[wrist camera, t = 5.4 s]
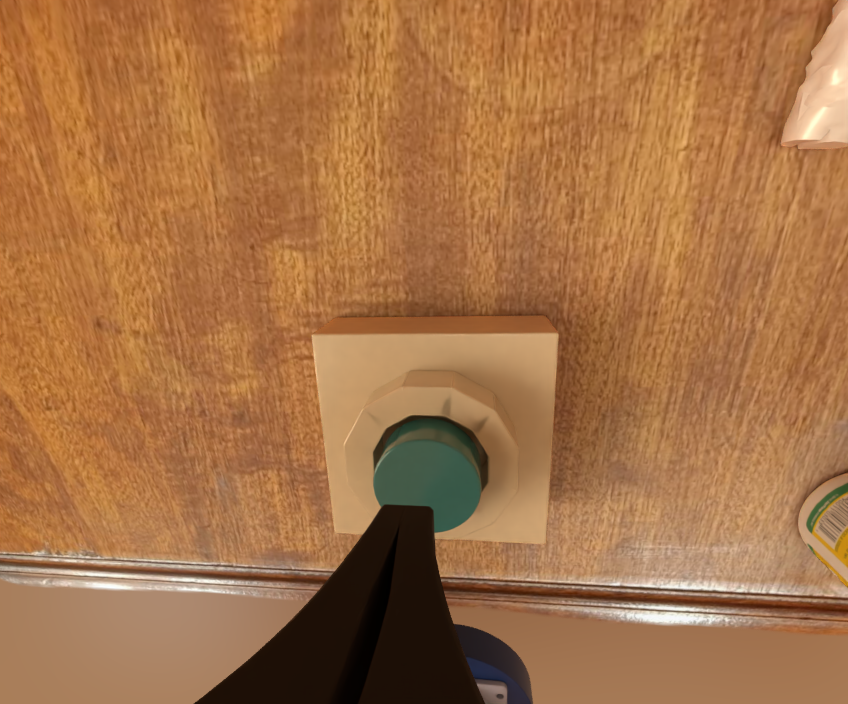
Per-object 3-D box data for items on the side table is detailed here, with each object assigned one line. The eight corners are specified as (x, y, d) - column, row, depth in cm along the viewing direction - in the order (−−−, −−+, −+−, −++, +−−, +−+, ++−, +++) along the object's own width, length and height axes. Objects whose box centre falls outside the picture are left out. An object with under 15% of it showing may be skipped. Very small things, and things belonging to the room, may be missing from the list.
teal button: (480, 506, 18) (481, 536, 16) (385, 502, 18) (376, 531, 16) (481, 418, 16) (481, 441, 15) (379, 416, 17) (368, 438, 15)
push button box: (537, 501, 22) (553, 577, 18) (352, 493, 24) (321, 562, 19) (546, 314, 20) (569, 346, 15) (334, 317, 21) (292, 346, 16)
